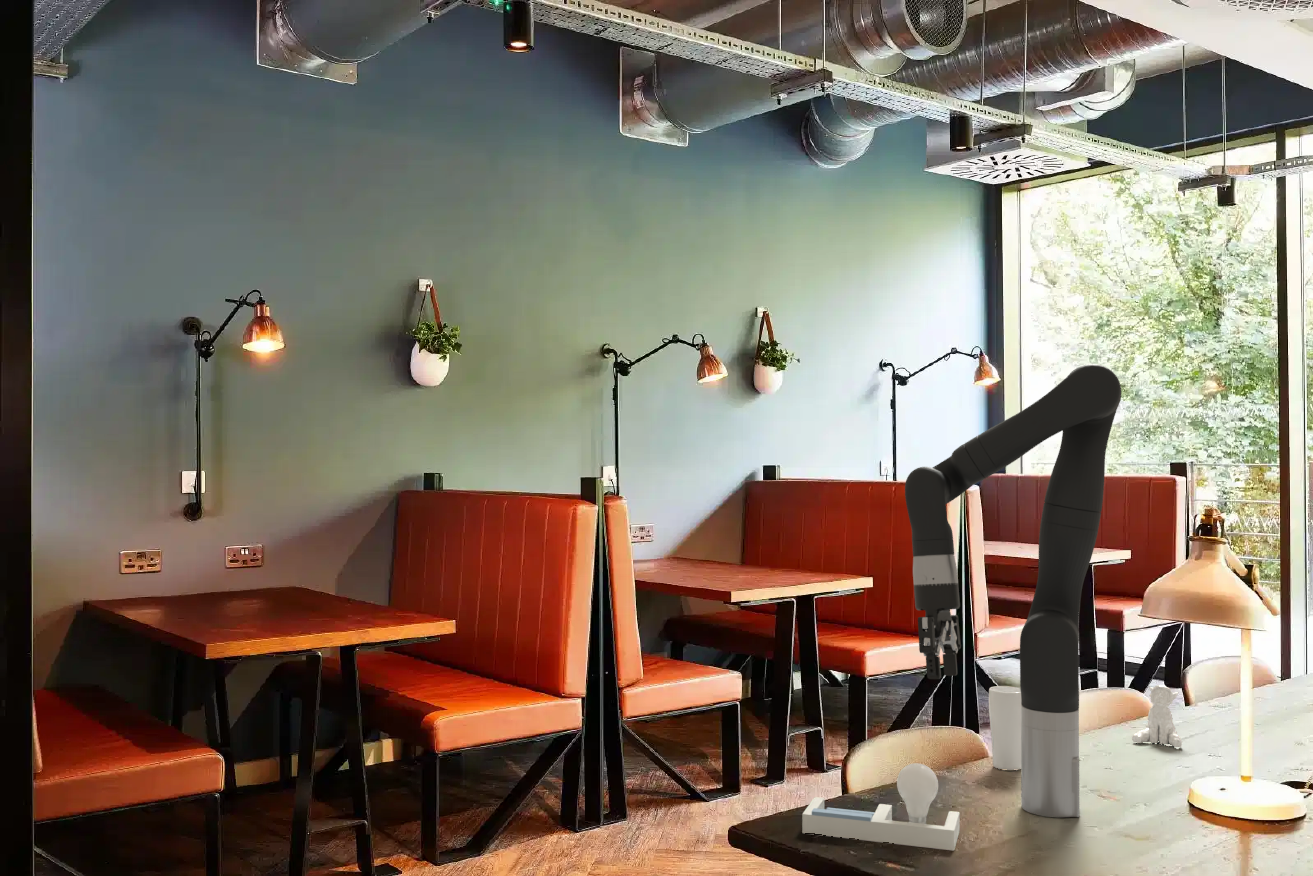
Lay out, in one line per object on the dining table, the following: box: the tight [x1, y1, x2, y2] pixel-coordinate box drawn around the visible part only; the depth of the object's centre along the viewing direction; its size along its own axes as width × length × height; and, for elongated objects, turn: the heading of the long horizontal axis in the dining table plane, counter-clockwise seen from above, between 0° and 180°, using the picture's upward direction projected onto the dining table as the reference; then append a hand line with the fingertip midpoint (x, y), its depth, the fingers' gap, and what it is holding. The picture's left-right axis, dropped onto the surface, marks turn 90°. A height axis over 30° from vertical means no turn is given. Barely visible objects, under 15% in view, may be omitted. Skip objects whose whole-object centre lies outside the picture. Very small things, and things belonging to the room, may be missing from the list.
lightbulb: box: [896, 762, 939, 824], centre depth 180 cm, size 6×6×11 cm
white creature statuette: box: [1131, 684, 1183, 748], centre depth 240 cm, size 10×9×12 cm
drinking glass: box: [988, 685, 1021, 770], centre depth 219 cm, size 7×7×15 cm
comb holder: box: [801, 796, 961, 851], centre depth 182 cm, size 23×11×4 cm, turn 70°
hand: (942, 677), depth 197 cm, fingers open, 8 cm apart
